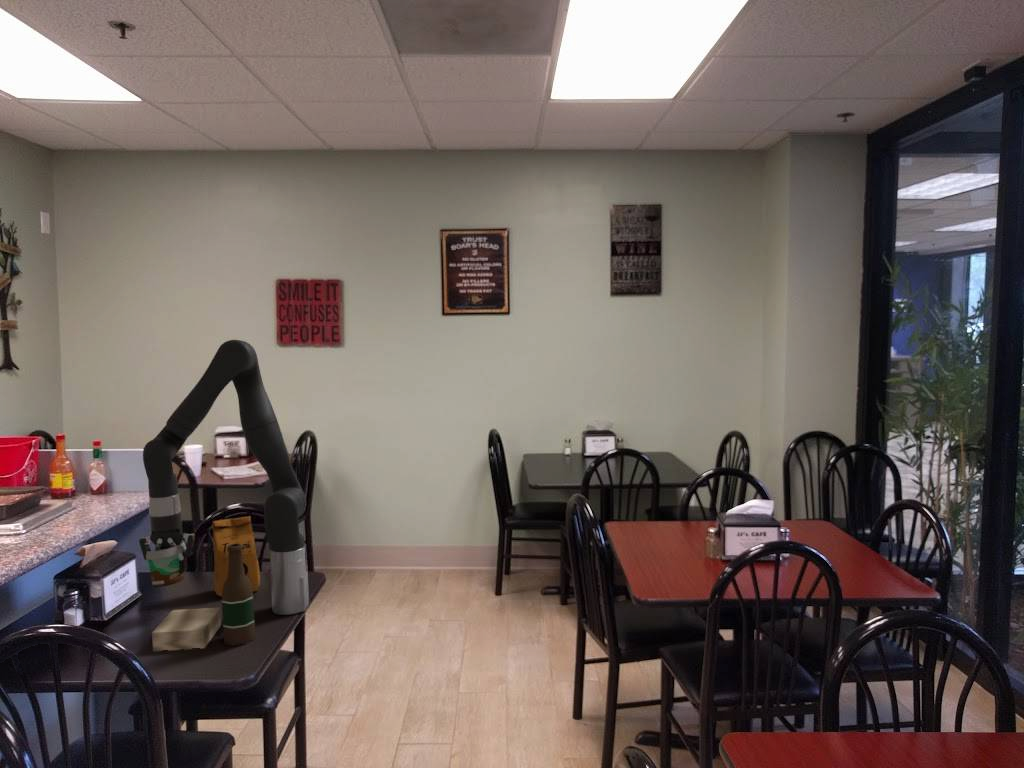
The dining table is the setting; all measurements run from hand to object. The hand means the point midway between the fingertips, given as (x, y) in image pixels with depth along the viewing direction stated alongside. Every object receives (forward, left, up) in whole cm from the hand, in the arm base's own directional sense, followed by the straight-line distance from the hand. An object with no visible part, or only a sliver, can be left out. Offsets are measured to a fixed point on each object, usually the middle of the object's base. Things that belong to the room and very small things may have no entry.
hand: (170, 573), depth 198 cm
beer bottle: (-22, +18, -12) cm, 31 cm away
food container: (-1, 0, -2) cm, 3 cm away
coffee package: (-13, -16, -12) cm, 24 cm away
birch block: (-9, +15, -12) cm, 21 cm away
